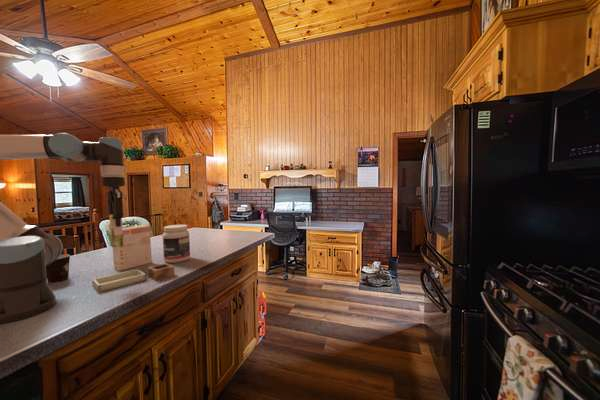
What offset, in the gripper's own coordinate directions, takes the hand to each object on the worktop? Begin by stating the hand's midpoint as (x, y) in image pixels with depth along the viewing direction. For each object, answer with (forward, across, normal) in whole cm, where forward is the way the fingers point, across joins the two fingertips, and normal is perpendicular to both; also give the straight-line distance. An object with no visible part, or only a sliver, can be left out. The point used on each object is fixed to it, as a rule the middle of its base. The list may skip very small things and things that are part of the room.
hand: (116, 233), depth 103 cm
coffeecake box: (+21, +22, -11) cm, 32 cm away
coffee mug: (+21, +26, +15) cm, 37 cm away
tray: (+20, 0, 0) cm, 20 cm away
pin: (+5, 0, 0) cm, 5 cm away
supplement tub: (+21, +14, -29) cm, 38 cm away
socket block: (+20, -6, -14) cm, 25 cm away
